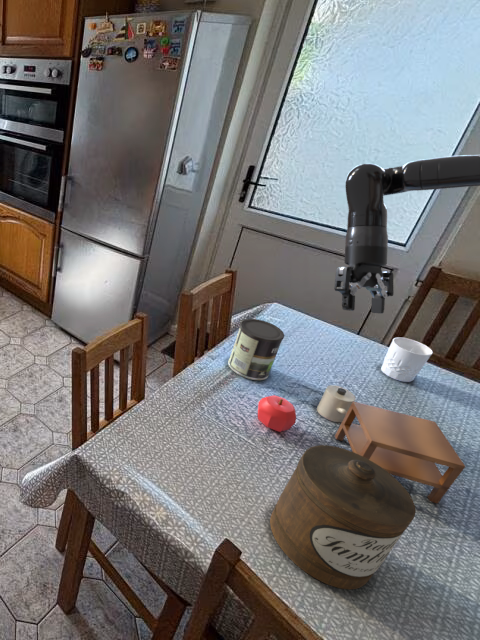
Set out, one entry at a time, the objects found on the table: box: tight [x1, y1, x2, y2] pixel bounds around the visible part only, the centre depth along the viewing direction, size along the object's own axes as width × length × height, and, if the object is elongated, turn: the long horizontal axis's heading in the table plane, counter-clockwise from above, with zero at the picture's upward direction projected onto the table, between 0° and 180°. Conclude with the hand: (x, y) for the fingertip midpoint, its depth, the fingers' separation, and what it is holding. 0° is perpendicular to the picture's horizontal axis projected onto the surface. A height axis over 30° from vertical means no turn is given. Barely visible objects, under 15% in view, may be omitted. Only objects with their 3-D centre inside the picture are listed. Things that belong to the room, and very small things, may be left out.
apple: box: [257, 394, 297, 433], centre depth 101 cm, size 8×8×8 cm
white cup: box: [380, 336, 434, 383], centre depth 115 cm, size 8×8×10 cm
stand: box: [334, 401, 466, 504], centre depth 89 cm, size 14×12×11 cm
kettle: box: [316, 384, 357, 423], centre depth 102 cm, size 8×6×8 cm
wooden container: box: [269, 444, 416, 590], centre depth 72 cm, size 15×15×22 cm
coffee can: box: [227, 318, 285, 381], centre depth 118 cm, size 10×10×14 cm
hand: (363, 311), depth 100 cm, fingers open, 8 cm apart
